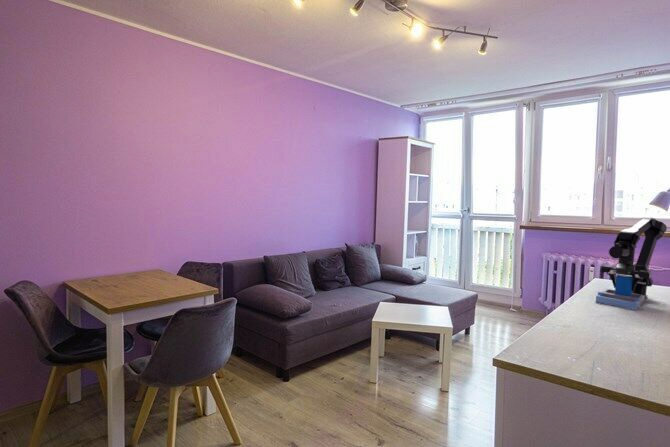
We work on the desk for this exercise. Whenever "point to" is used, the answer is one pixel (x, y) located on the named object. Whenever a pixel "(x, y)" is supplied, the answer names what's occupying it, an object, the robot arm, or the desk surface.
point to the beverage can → (624, 285)
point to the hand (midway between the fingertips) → (623, 289)
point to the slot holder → (620, 299)
